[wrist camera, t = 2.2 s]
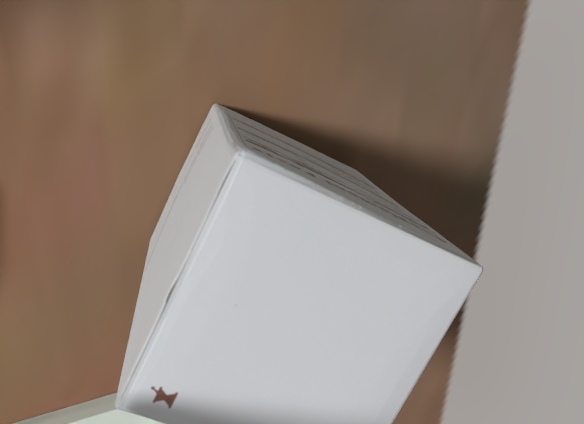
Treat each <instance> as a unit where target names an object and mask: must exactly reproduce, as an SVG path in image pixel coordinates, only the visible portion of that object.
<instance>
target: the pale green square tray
mask: <svg viewBox="0 0 584 424" xmlns="http://www.w3.org/2000/svg"><path fill="white" fill-rule="evenodd" d="M117 393H118V392H117ZM117 393H114V394H111V395H107V396H104V397H100V398H97V399H94V400H90V401H87V402H84V403H80V404H77V405H73V406H70V407H67V408H63V409H60V410H57V411H53V412H50V413H46V414H43V415H40V416H36V417H33V418H30V419H26V420H23V421H19V422H16V423H13V424H164V423H161V422H158V421H155V420H152V419H149V418H146V417H143V416H140V415H136V414H133V413H129V412H125V411H122V410H118V409H117V408H116V406H115V401H116V397H117Z"/></svg>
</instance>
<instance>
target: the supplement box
mask: <svg viewBox="0 0 584 424" xmlns="http://www.w3.org/2000/svg"><path fill="white" fill-rule="evenodd" d="M482 271H483V267H482V266H481V265H479V264H478V263H477V262H476V261H475V260H473V259H472V258H471V257H469V256H468V255H467V254H466V253H464V252H463V251H461V250H460V249H459V248H457V247H456V246H455V245H453V244H452V243H451V242H449V241H448V240H447V239H445V238H444V237H443V236H442V235H440V234H439V233H438V232H436V231H435V230H434V229H432V228H431V227H429V226H428V225H427V224H425V223H424V222H423V221H421V220H420V219H419V218H417V217H416V216H414V215H413V214H412V213H410V212H409V211H408V210H406V209H405V208H404V207H402V206H401V205H400V204H399V203H397V202H396V201H395V200H393V199H392V198H391V197H390V196H388V195H387V194H386V193H385V192H383V191H382V190H381V189H380V188H378V187H377V186H376V185H374V184H373V183H372V182H371V181H369V180H368V179H367V178H366V177H364V176H363V175H362V174H361V173H359V172H358V171H357V170H355V169H353V168H351V167H349V166H347V165H345V164H343V163H340V162H338V161H336V160H334V159H332V158H330V157H328V156H326V155H324V154H322V153H320V152H318V151H316V150H314V149H312V148H310V147H308V146H306V145H304V144H302V143H299V142H297V141H295V140H293V139H291V138H289V137H287V136H285V135H283V134H281V133H279V132H277V131H274V130H272V129H270V128H268V127H266V126H264V125H262V124H260V123H258V122H256V121H254V120H252V119H249V118H247V117H245V116H243V115H241V114H239V113H237V112H235V111H233V110H230V109H228V108H226V107H224V106H222V105H219V104H213V106H212V108H211V110H210V112H209V114H208V116H207V118H206V120H205V122H204V124H203V126H202V128H201V130H200V132H199V134H198V136H197V138H196V140H195V142H194V145H193V147H192V149H191V151H190V153H189V155H188V157H187V159H186V161H185V163H184V165H183V167H182V170H181V172H180V174H179V176H178V178H177V180H176V183H175V185H174V187H173V189H172V192H171V194H170V196H169V198H168V201H167V203H166V205H165V208H164V210H163V212H162V214H161V217H160V219H159V221H158V223H157V226H156V228H155V230H154V233H153V235H152V237H151V239H150V244H149V249H148V254H147V258H146V263H145V268H144V273H143V277H142V281H141V286H140V291H139V295H138V300H137V304H136V309H135V314H134V318H133V323H132V327H131V332H130V337H129V341H128V346H127V350H126V355H125V359H124V364H123V369H122V373H121V378H120V383H119V388H118V393H117V397H116V401H115V406H116V408H117V409H118V410H122V411H125V412H129V413H133V414H136V415H140V416H143V417H146V418H149V419H152V420H155V421H158V422H161V423H164V424H392V423H393V421H394V419H395V417H396V416H397V414H398V412H399V411H400V409H401V407H402V406H403V404H404V402H405V401H406V399H407V397H408V396H409V394H410V392H411V391H412V389H413V387H414V386H415V384H416V382H417V381H418V379H419V377H420V375H421V374H422V372H423V370H424V369H425V367H426V365H427V364H428V362H429V360H430V359H431V357H432V355H433V353H434V352H435V350H436V348H437V347H438V345H439V343H440V342H441V340H442V338H443V337H444V335H445V333H446V332H447V330H448V328H449V327H450V325H451V323H452V322H453V320H454V318H455V317H456V315H457V313H458V312H459V310H460V308H461V307H462V305H463V303H464V302H465V300H466V298H467V296H468V295H469V293H470V291H471V290H472V288H473V286H474V285H475V283H476V282H477V280H478V278H479V276H480V275H481V273H482Z"/></svg>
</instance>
